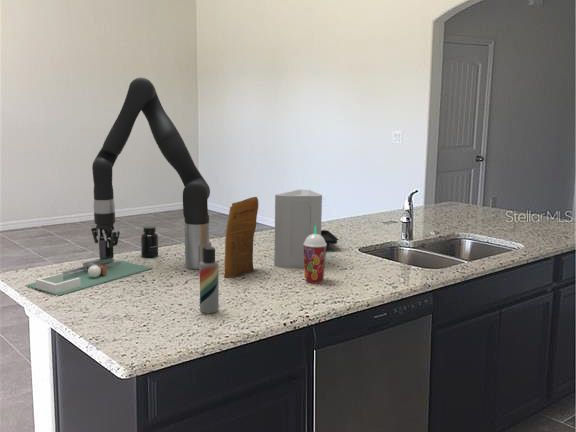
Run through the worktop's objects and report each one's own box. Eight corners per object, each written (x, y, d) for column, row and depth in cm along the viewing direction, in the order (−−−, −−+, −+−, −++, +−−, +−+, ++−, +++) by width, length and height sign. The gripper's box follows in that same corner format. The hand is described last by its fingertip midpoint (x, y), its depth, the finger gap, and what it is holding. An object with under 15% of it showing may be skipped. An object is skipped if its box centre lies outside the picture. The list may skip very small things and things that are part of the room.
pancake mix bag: (263, 269, 237) (264, 196, 232) (231, 280, 222) (231, 203, 217) (250, 266, 241) (250, 194, 236) (217, 277, 226) (216, 201, 220)
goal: (80, 286, 211) (80, 278, 210) (55, 293, 203) (55, 285, 202) (61, 281, 217) (61, 272, 216) (36, 288, 209) (35, 279, 208)
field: (152, 268, 235) (152, 267, 235) (58, 296, 202) (58, 295, 202) (120, 261, 245) (120, 260, 245) (25, 286, 212) (25, 285, 212)
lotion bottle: (200, 307, 193) (199, 244, 189) (218, 307, 194) (218, 244, 190) (199, 313, 188) (198, 249, 184) (218, 313, 188) (218, 249, 184)
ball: (103, 277, 222) (103, 265, 221) (93, 279, 219) (93, 267, 218) (95, 274, 225) (95, 263, 224) (85, 277, 221) (85, 265, 220)
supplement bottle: (154, 258, 250) (153, 229, 248) (138, 257, 251) (137, 228, 249) (161, 254, 257) (160, 226, 254) (145, 253, 258) (144, 225, 256)
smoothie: (328, 279, 226) (329, 225, 222) (322, 285, 218) (323, 229, 214) (306, 276, 228) (307, 223, 224) (299, 282, 220) (300, 227, 217)
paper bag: (306, 272, 234) (307, 198, 229) (273, 266, 242) (274, 194, 236) (330, 261, 250) (332, 192, 244) (299, 256, 257) (300, 189, 252)
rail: (121, 264, 239) (120, 260, 238) (57, 281, 216) (57, 277, 216) (113, 262, 241) (113, 258, 241) (50, 279, 218) (49, 275, 218)
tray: (268, 245, 275) (268, 234, 274) (297, 236, 294) (297, 225, 293) (326, 256, 259) (326, 244, 258) (353, 245, 278) (353, 234, 277)
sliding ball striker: (128, 268, 232) (127, 242, 230) (102, 275, 222) (101, 248, 220) (107, 263, 239) (106, 238, 237) (81, 270, 229) (80, 243, 227)
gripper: (125, 211, 231) (126, 256, 234) (100, 207, 239) (102, 250, 242) (108, 214, 225) (111, 260, 228) (83, 210, 233) (86, 254, 236)
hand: (106, 255), depth 235 cm, fingers closed on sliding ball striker, 3 cm apart
